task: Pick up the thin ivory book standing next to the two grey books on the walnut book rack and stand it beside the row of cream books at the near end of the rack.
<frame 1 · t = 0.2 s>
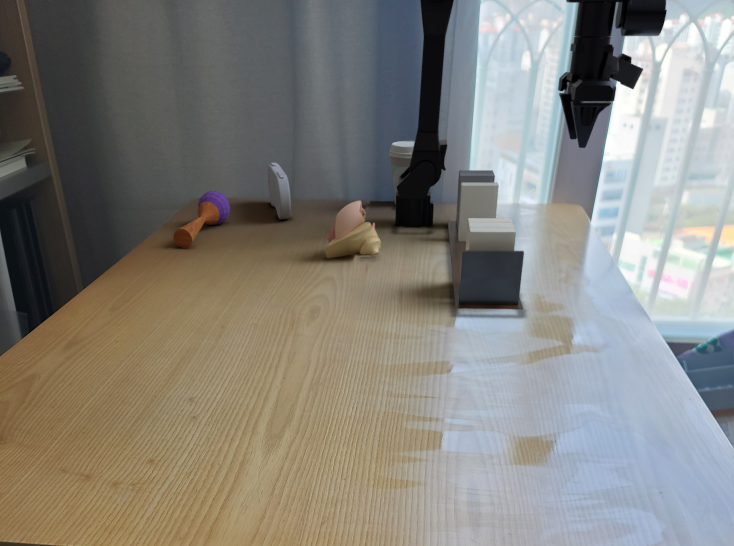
hand: (577, 143, 129), 15 cm above the table, tool pointing down, fingers open, 9 cm apart
coffee cup: (409, 209, 153), on the table
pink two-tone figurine: (350, 257, 125), on the table
ivory book: (475, 239, 128), point 1 cm above the table, touching book rack
grey books: (472, 225, 136), resting on book rack
cream books: (485, 290, 106), resting on book rack
book rack: (478, 263, 120), on the table
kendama: (203, 234, 138), on the table
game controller: (280, 213, 152), on the table
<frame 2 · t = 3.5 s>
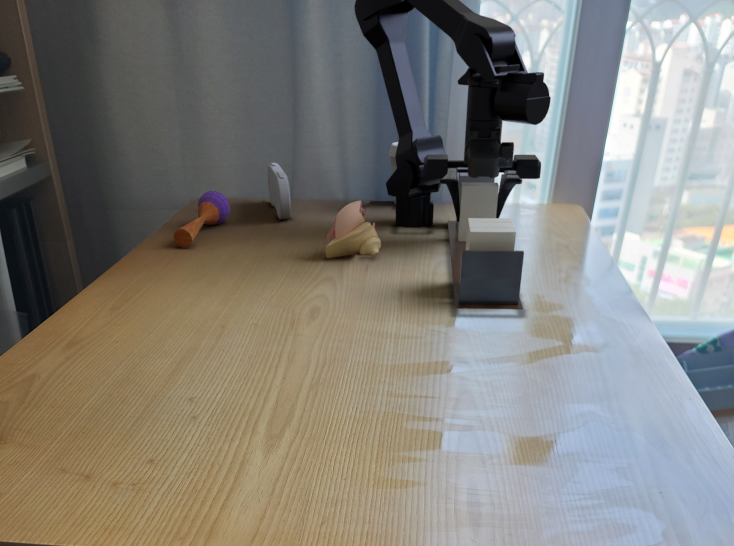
hand: (476, 221, 127), 4 cm above the table, tool pointing down, fingers closed on ivory book, 6 cm apart
ivory book: (475, 239, 128), point 1 cm above the table, touching book rack, gripper
everything else where it was.
when the fingers open (4 cm above the table, at t = 8.5 s): ivory book stays where it is, resting on book rack.
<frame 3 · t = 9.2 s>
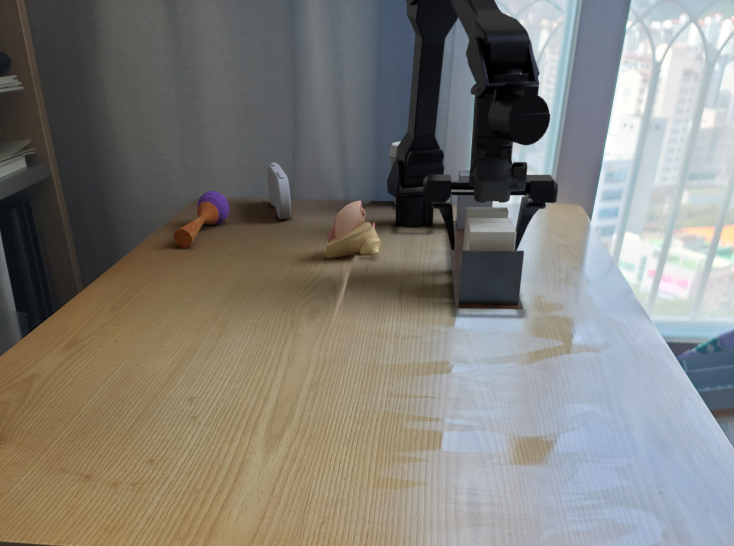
hand: (483, 249, 112), 4 cm above the table, tool pointing down, fingers open, 9 cm apart
ivory book: (482, 271, 113), point 1 cm above the table, touching book rack
everything else where it was.
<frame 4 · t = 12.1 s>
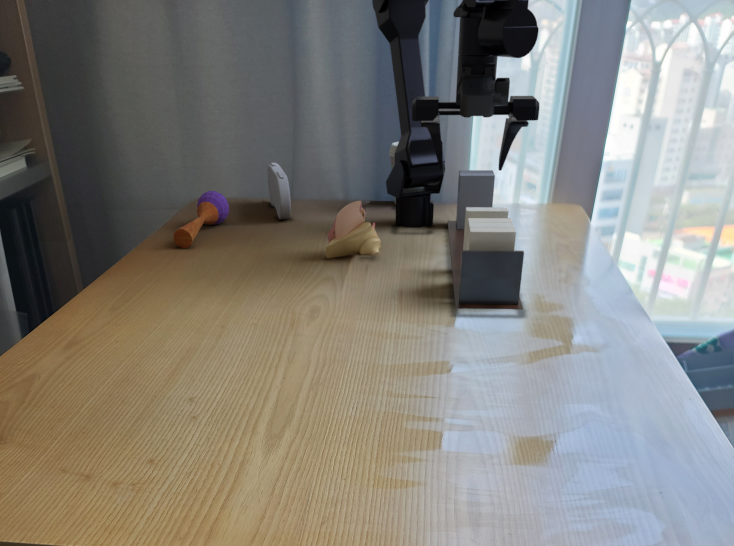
hand: (470, 170, 118), 13 cm above the table, tool pointing down, fingers open, 9 cm apart
nothing on the table moved.
at the end: ivory book 0.1 cm from the target spot on the table beside the cream books, resting on book rack; ivory book tilted 0°; the gripper is holding nothing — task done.
